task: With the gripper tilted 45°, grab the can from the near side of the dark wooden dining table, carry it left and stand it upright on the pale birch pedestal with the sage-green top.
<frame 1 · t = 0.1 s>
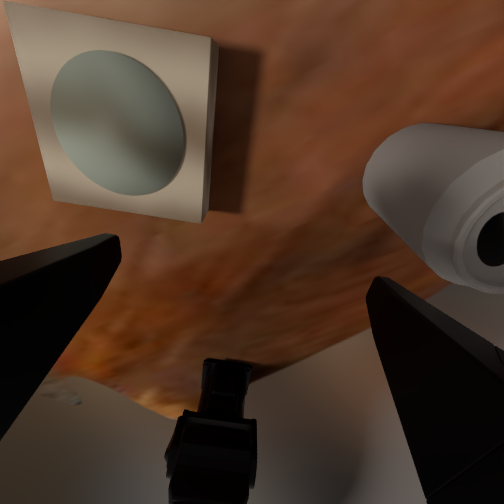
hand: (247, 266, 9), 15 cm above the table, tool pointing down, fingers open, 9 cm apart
pedestal: (138, 128, 21), on the table
can: (405, 172, 21), on the table
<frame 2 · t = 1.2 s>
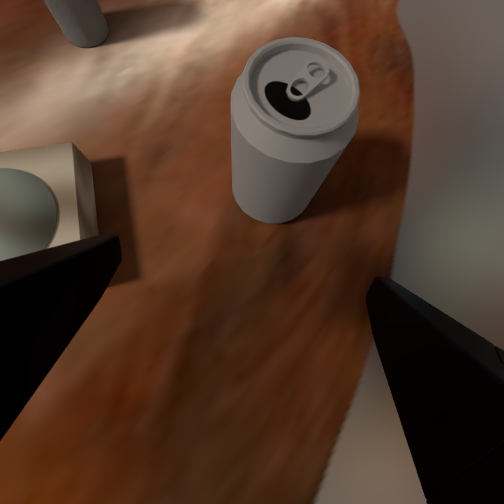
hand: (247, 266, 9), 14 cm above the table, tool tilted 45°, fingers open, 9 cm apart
pedestal: (24, 235, 22), on the table
can: (270, 191, 25), on the table
grey cylinder: (88, 33, 28), on the table
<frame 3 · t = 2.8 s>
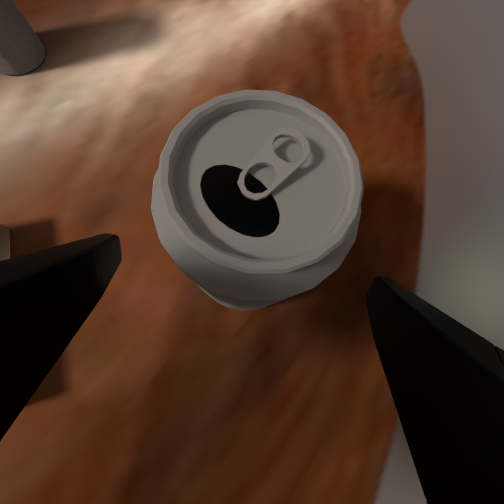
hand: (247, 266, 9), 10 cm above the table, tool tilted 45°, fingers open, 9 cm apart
can: (245, 260, 19), on the table
grey cylinder: (20, 57, 22), on the table
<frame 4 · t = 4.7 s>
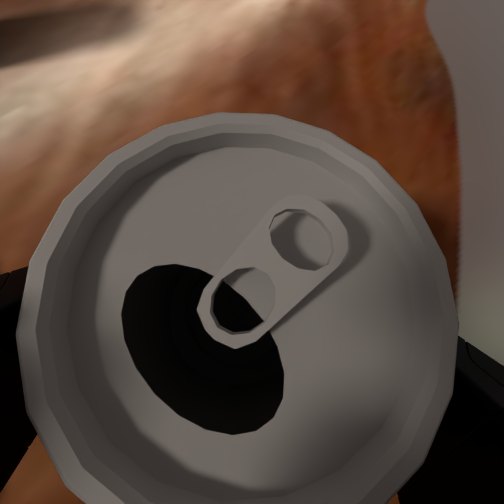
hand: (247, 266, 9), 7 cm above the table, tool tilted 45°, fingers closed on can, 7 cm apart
can: (238, 311, 15), on the table, touching gripper
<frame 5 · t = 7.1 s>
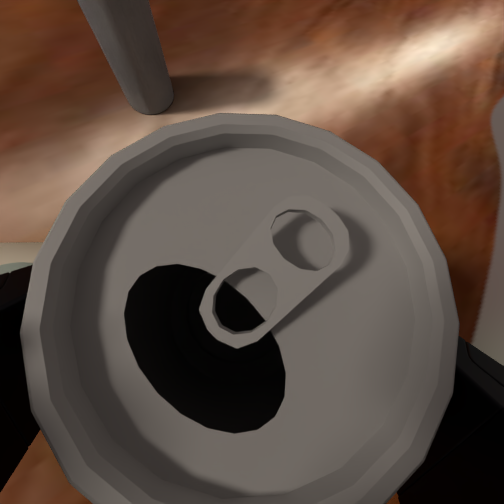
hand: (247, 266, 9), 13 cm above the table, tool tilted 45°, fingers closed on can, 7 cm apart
pedestal: (43, 326, 20), on the table
can: (238, 310, 15), point 6 cm above the table, touching gripper
grey cylinder: (151, 97, 26), on the table
when the fingers open (11 cm above the table, at t = 9.7 s): can stays where it is, resting on pedestal.
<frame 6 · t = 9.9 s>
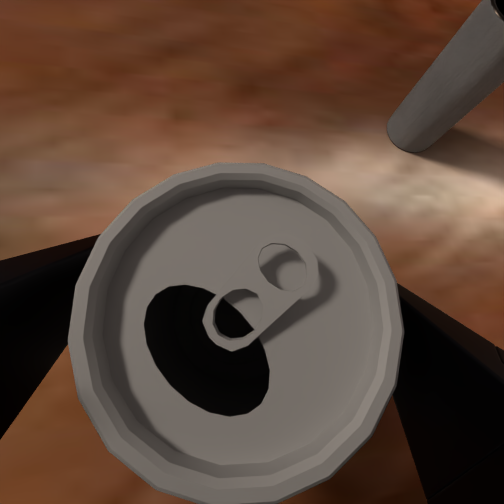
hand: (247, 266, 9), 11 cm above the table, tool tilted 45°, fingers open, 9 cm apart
can: (237, 313, 16), point 3 cm above the table, touching pedestal
grey cylinder: (407, 133, 25), on the table
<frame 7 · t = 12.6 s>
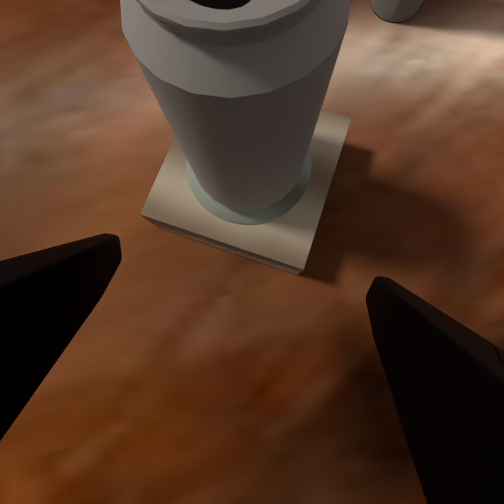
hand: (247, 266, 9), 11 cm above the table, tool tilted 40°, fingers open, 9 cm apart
pedestal: (250, 183, 22), on the table
can: (248, 166, 19), point 3 cm above the table, touching pedestal
grey cylinder: (393, 6, 25), on the table
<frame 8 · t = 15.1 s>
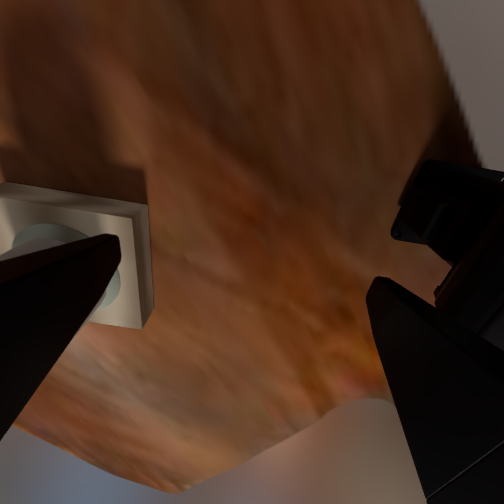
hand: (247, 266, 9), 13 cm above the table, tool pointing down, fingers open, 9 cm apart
pedestal: (89, 253, 25), on the table
can: (69, 270, 22), point 3 cm above the table, touching pedestal
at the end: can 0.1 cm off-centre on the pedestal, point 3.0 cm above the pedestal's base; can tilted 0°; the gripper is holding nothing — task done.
